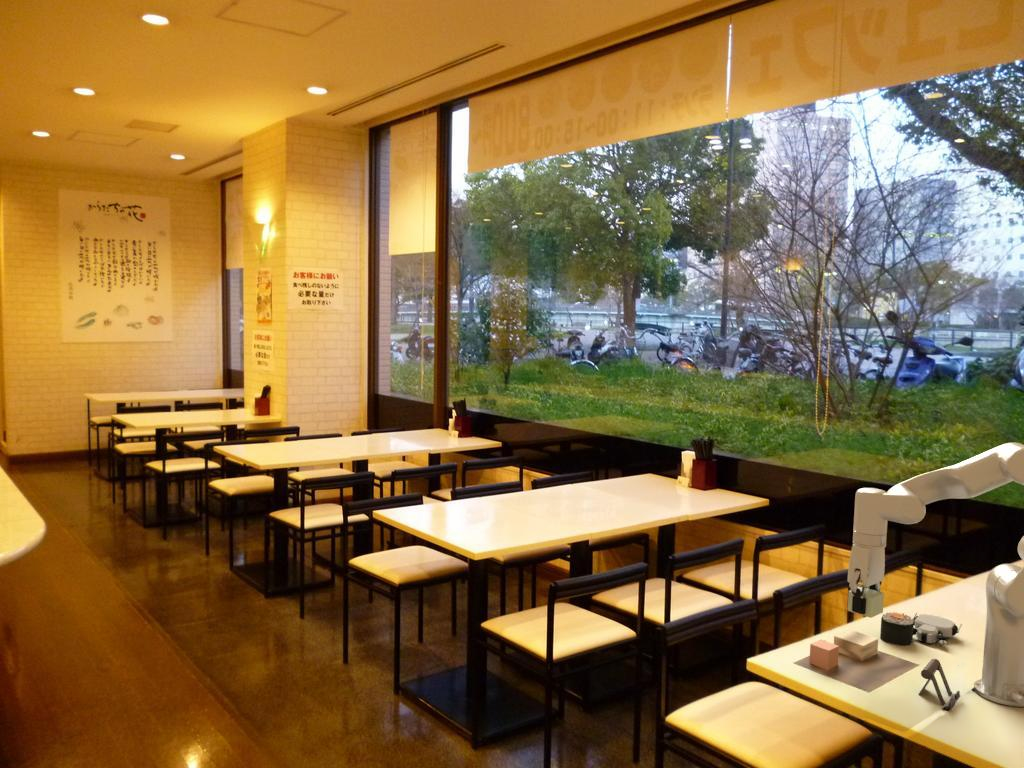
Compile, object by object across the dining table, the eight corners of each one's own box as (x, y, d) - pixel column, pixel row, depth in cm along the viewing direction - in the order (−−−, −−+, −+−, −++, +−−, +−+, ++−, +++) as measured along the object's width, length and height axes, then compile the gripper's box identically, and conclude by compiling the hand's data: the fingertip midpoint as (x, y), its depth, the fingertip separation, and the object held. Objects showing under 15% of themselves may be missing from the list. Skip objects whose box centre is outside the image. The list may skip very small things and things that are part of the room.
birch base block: (877, 653, 214) (878, 638, 214) (862, 660, 209) (863, 645, 209) (848, 643, 220) (849, 629, 220) (833, 650, 215) (834, 635, 215)
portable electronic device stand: (950, 713, 184) (953, 677, 183) (913, 701, 189) (915, 667, 189) (959, 700, 191) (962, 665, 190) (923, 689, 196) (925, 656, 195)
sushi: (877, 644, 223) (879, 616, 222) (883, 635, 230) (885, 607, 229) (909, 652, 218) (911, 623, 217) (915, 642, 225) (917, 614, 224)
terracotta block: (837, 664, 206) (839, 645, 206) (827, 669, 203) (828, 650, 203) (819, 658, 210) (820, 639, 210) (809, 662, 207) (810, 644, 206)
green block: (882, 612, 200) (883, 592, 199) (871, 617, 196) (872, 597, 196) (859, 605, 204) (860, 586, 204) (847, 610, 201) (848, 591, 200)
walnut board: (919, 668, 208) (919, 664, 208) (868, 696, 191) (868, 692, 191) (845, 642, 223) (845, 639, 223) (792, 666, 207) (793, 662, 207)
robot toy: (947, 655, 219) (962, 635, 230) (947, 639, 219) (963, 620, 229) (899, 641, 228) (916, 624, 238) (900, 626, 227) (916, 609, 238)
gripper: (871, 530, 207) (867, 598, 209) (837, 540, 196) (833, 612, 198) (900, 536, 201) (896, 606, 203) (867, 548, 190) (862, 622, 192)
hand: (865, 609), depth 200 cm, fingers closed on green block, 6 cm apart
